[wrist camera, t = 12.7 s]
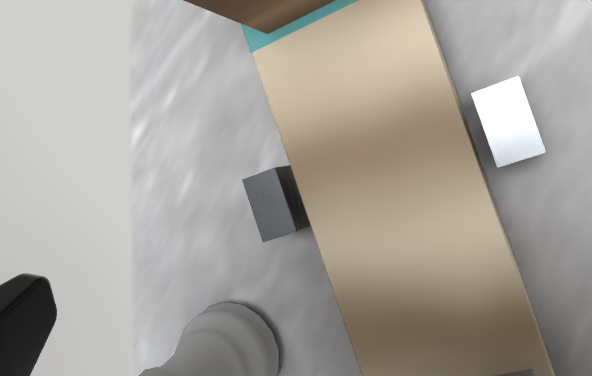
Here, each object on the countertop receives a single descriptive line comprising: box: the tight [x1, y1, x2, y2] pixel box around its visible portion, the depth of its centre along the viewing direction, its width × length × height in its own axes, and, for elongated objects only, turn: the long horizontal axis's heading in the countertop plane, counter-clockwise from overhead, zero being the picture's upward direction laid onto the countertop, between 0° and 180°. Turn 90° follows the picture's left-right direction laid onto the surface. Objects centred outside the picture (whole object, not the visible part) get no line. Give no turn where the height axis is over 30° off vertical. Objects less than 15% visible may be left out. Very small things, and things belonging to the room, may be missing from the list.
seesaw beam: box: [241, 0, 556, 376], centre depth 18 cm, size 22×6×4 cm, turn 20°
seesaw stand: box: [242, 75, 546, 242], centre depth 19 cm, size 12×10×3 cm
